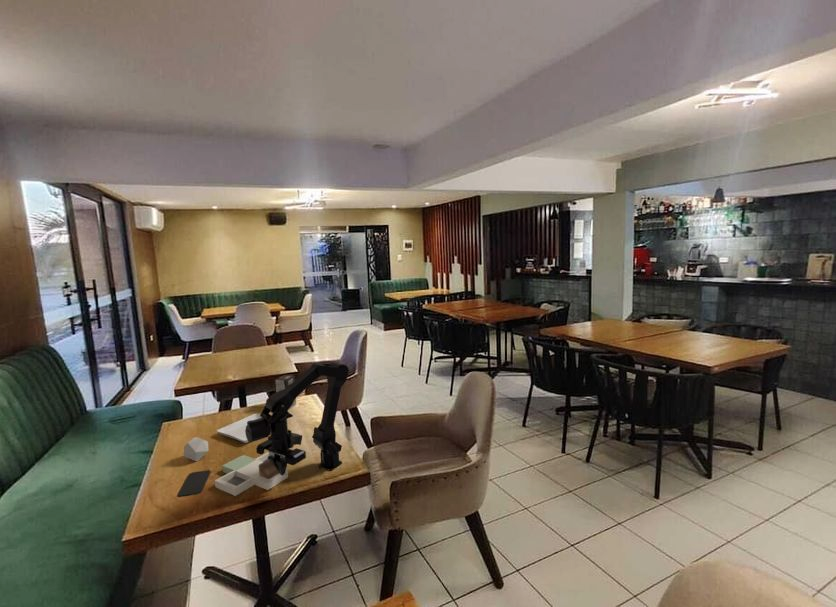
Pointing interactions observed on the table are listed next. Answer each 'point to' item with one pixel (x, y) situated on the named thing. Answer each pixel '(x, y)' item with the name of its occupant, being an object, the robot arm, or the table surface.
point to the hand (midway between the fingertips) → (282, 474)
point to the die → (195, 449)
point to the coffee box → (285, 384)
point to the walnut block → (267, 469)
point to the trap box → (246, 475)
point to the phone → (194, 483)
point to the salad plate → (238, 428)
